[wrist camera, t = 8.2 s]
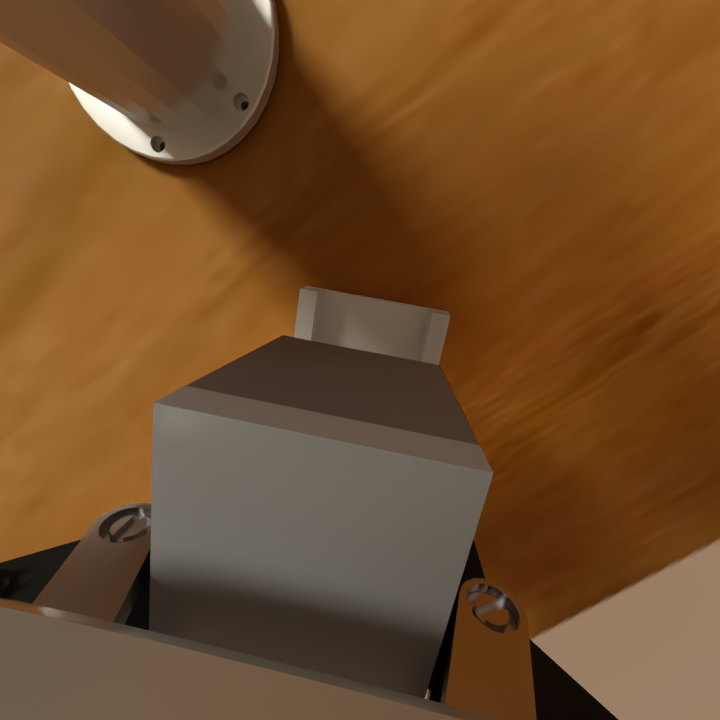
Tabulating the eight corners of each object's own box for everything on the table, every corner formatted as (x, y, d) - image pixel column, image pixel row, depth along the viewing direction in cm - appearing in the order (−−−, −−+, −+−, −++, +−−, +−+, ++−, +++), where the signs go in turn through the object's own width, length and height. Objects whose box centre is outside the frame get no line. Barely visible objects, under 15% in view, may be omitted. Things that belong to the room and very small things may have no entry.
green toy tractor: (275, 279, 22) (166, 285, 12) (481, 317, 22) (567, 359, 11) (245, 572, 28) (156, 751, 18) (404, 608, 28) (411, 817, 17)
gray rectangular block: (283, 335, 11) (153, 402, 5) (439, 364, 11) (493, 472, 5) (256, 563, 13) (145, 791, 7) (385, 593, 13) (376, 855, 7)
